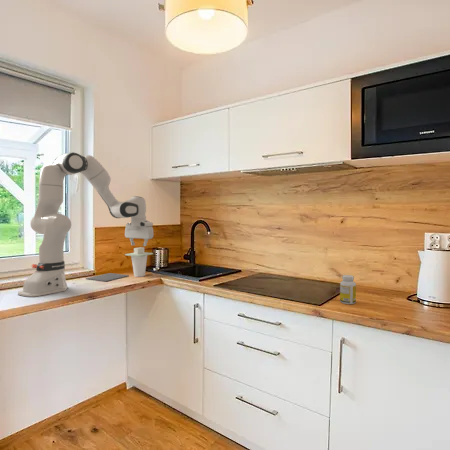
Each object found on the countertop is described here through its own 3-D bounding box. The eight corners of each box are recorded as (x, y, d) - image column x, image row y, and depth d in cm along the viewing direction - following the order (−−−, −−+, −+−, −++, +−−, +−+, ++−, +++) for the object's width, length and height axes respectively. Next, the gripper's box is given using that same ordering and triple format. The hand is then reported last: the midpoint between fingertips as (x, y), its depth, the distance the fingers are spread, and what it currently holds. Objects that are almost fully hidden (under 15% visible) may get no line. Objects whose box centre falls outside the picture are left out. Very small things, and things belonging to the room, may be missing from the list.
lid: (139, 256, 198) (139, 249, 198) (124, 255, 204) (124, 248, 203) (153, 254, 209) (153, 247, 208) (138, 253, 214) (138, 246, 214)
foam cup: (130, 275, 209) (130, 254, 208) (145, 273, 213) (145, 253, 212) (133, 277, 200) (132, 256, 200) (148, 276, 204) (148, 255, 204)
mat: (105, 281, 190) (105, 280, 190) (86, 279, 197) (86, 278, 197) (128, 276, 205) (128, 275, 205) (109, 273, 213) (109, 273, 213)
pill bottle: (354, 301, 148) (355, 275, 148) (356, 305, 142) (357, 277, 142) (339, 300, 150) (339, 274, 150) (340, 304, 144) (340, 277, 143)
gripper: (122, 222, 207) (122, 245, 208) (148, 223, 198) (148, 247, 198) (129, 222, 213) (129, 244, 213) (155, 223, 203) (155, 246, 204)
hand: (138, 245), depth 206 cm, fingers open, 8 cm apart
